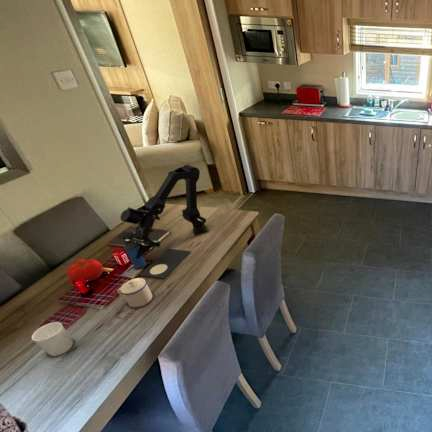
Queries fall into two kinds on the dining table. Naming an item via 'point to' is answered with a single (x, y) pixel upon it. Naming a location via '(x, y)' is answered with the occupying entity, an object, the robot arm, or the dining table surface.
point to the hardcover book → (155, 235)
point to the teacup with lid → (136, 292)
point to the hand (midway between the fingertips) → (133, 257)
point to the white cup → (53, 338)
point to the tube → (135, 255)
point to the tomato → (85, 270)
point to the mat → (165, 264)
